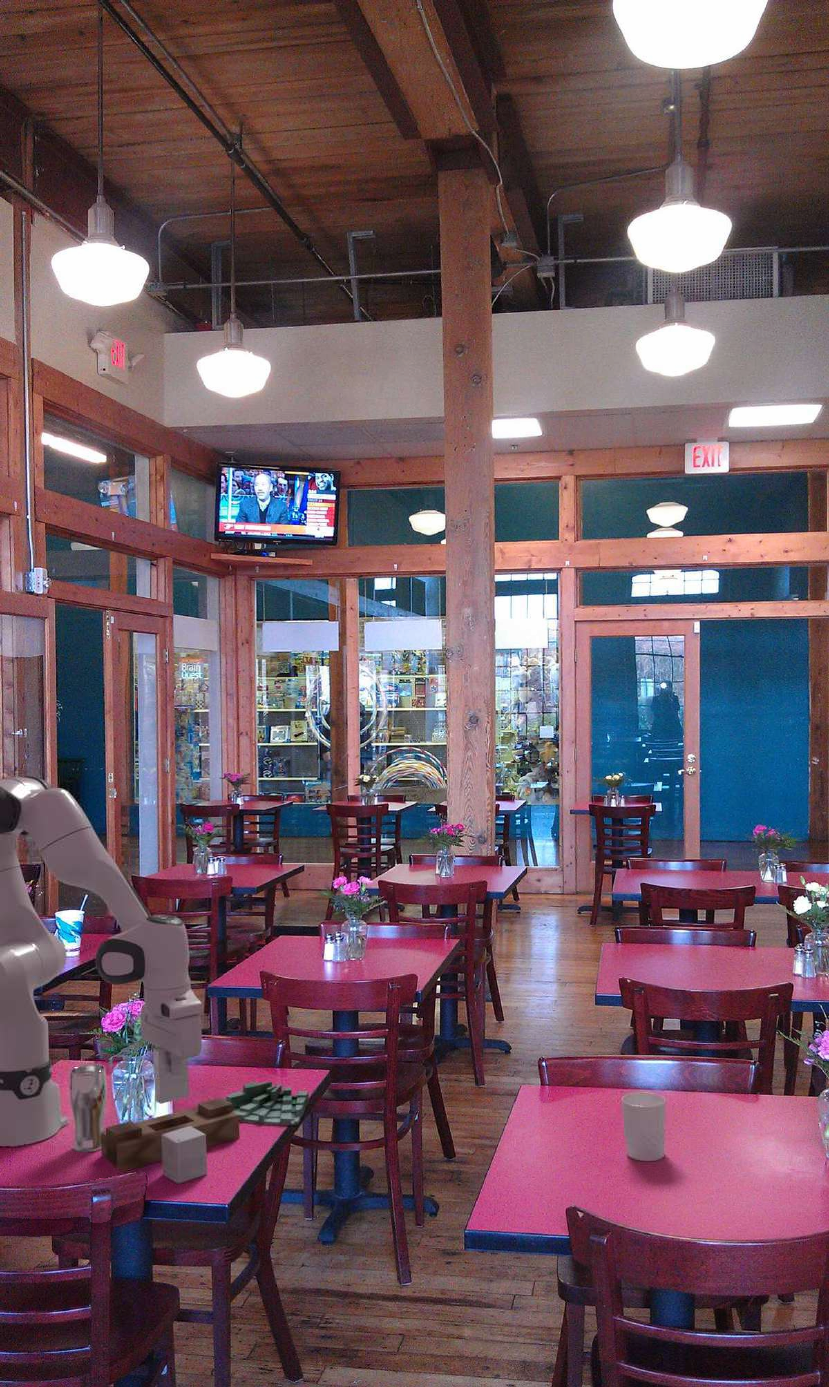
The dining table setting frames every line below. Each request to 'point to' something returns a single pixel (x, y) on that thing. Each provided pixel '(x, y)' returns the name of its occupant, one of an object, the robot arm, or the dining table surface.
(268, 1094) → the money
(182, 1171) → the product box
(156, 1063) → the bracket
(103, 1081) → the beer glass
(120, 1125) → the wooden display stand
